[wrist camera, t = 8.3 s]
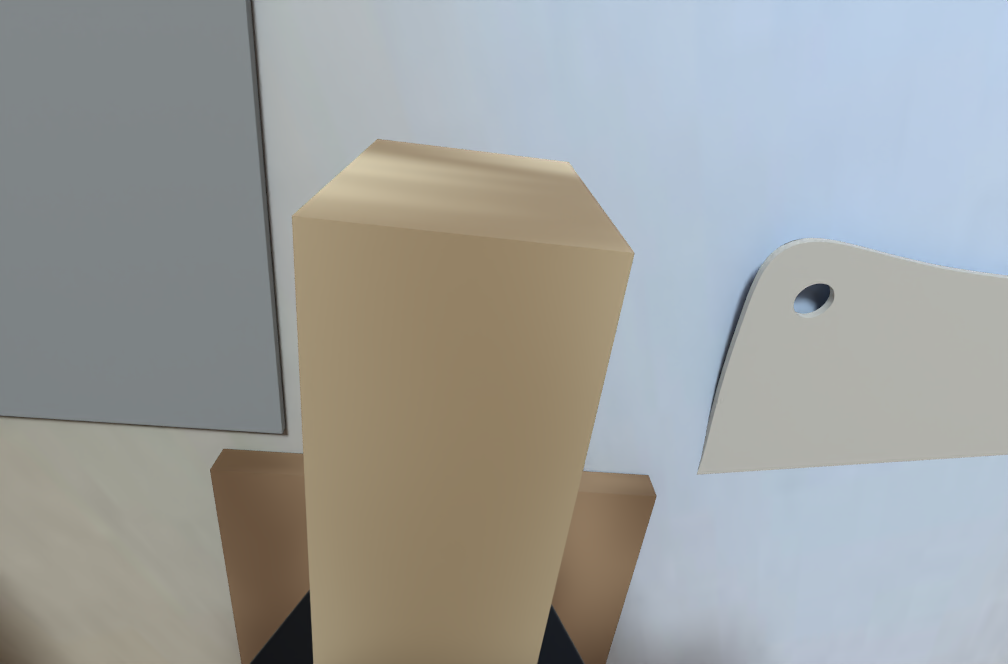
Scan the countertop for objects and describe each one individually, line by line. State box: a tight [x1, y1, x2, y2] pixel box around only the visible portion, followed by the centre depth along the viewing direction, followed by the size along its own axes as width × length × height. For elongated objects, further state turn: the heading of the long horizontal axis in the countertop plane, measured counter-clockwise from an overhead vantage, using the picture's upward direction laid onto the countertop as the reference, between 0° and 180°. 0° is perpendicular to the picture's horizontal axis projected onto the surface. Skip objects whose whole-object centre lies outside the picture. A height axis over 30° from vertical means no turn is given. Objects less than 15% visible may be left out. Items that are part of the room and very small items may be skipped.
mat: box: [0, 0, 285, 434], centre depth 13 cm, size 10×17×1 cm, turn 174°
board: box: [210, 449, 656, 664], centre depth 21 cm, size 14×14×1 cm
